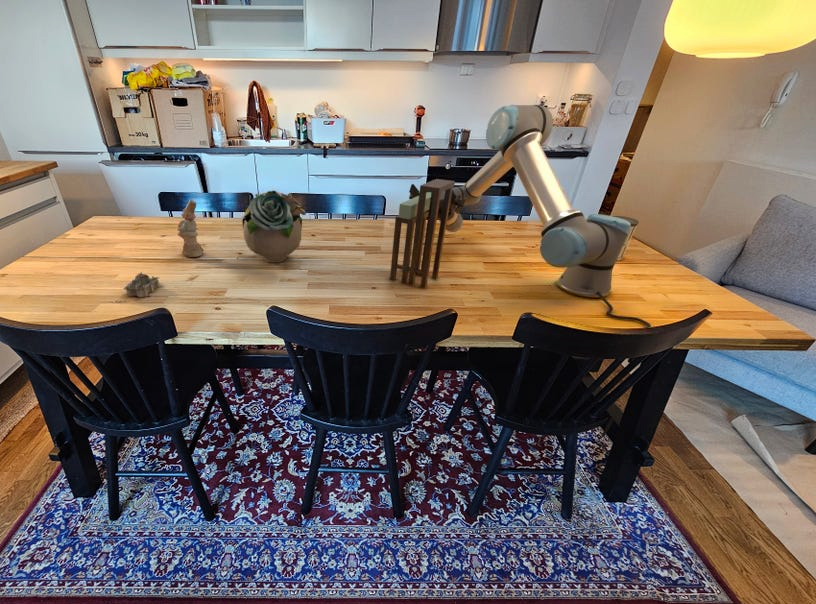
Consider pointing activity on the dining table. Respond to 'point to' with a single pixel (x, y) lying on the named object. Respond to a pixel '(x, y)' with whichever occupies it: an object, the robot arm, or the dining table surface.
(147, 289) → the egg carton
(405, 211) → the sage box
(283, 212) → the flower arrangement
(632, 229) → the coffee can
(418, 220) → the step rack
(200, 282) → the dining table surface
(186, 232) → the figurine
